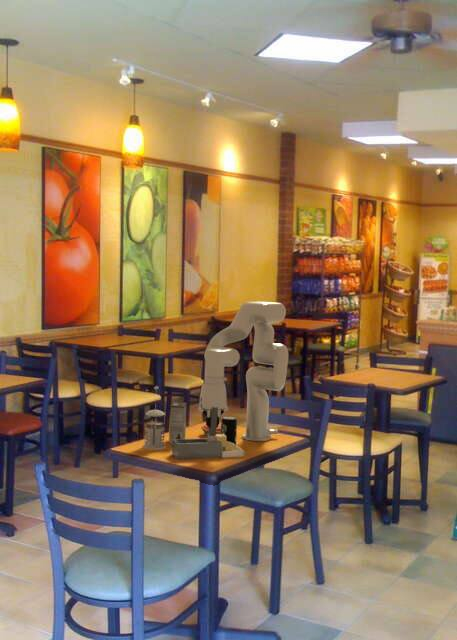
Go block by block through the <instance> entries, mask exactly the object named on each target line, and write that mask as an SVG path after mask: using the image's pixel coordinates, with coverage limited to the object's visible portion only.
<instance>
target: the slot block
mask: <svg viewBox="0 0 457 640" xmlns="http://www.w3.org/2000/svg"><path fill="white" fill-rule="evenodd" d="M171 456H173V457H174V458H175V459H176V460H196V459H216V458H217V459H218V458H222V442H207V438H206V437H204V438H203V437H202V438H201V437H199V438H185V439H172V445H171Z"/></svg>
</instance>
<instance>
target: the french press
mask: <svg viewBox="0 0 457 640" xmlns="http://www.w3.org/2000/svg"><path fill="white" fill-rule="evenodd" d="M153 390H155V393H157V392H158V391H157V390H159V386H157V385H156V386H154V388H153ZM154 406H155V408H154V409H151V410H148V411H146V412H145V416H146V417H154V420H153V418H152V419H151V421H147V422H146V426H145V431H144V432H145V434H144V436H145V437H144V444H143V445H142V449H146V450H151V451H152V450H157V451H159V450H164V449H166V448H167V445H165V434H166V433H165V428H166V427H165V426H163V425H164V424H165V423H164V422H161V421H158V419H157V418H158V417H164V416H165V415H166V413H165V412H164V411H162V410H159V409H157V405H154Z"/></svg>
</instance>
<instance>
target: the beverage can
mask: <svg viewBox="0 0 457 640" xmlns="http://www.w3.org/2000/svg"><path fill="white" fill-rule="evenodd" d="M220 423H221V434H224V435H226V436H227V440H226V441H228V442H232V443H234V444H235V445H237V433H238V432H237V429H238V420H237V417H236V416H229V415H225V416H222V419H221V421H220Z"/></svg>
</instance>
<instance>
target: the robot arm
mask: <svg viewBox="0 0 457 640" xmlns="http://www.w3.org/2000/svg"><path fill="white" fill-rule="evenodd" d="M286 314H287V310H286V307H285V305H284V304H283V303H281V302H272V301H246V302H244V303H242V304H241V306H240V307H239V308H238V310H237V313H236V314H235V316H234V318H233V319H232V322H231V323H230V325H229V326H227V327H226V328H224V329H222V330H220V331H219V332H217V333H216V334H214V336H213V337H211V339H210V341H209V342H208V344H207V346H206V348H205V351H204V383H202V384H201V388H200V394H199V405H198V408H197V411H198V412H200V413H201V414H203V415H204V416H205V425H207V427H209V428H210V427H211V417H210V410H211V409H212V407H214V408H216V407H218V411H217V425H216V427H218V425H219V423H220V418H221V416H223V414H224V413H225V412H228V411H229V407H228V405H227V401H228V400H227V399H228V398H227V387H226V384H225V382H227V381H228V377H225V367H230V368H231V367H236V366H237V365H238V363H239V361H240V358H241V357H240V356H241V355H240V353H239V351H238V350H237V349H236V348H232V347H225V346H227V345H229V344H232V343H235V342H240V341H242V340H244V339H247V338H248V337H249V335H250V332H251V330H252V329H253V327H254V337H253V338H254V339H253V346H252V360H253V362H255V363H257V364H261V365H271V366H273V367H267V366H266V367H265V366H252V367H249V368H248V370H246V374H245V382H246V388H247V389H246V390H247V395H246V398H247V399H246V421H245V422H246V423H245V425H246V426H245V433H243V434H241V435H242V436H241V438H242V439H244V440H246V441H251V442H266V441H270V440H271V439H272V436H271V435H278V434H279V430H278V429H272V428H269V413H270V412H269V411H270V410H269V409H270V408H269V407H270V405H269V404H270V398H269V395H268V392H267V390H268V391H275V392H276V391H277V392H279V391H282V390H283V389H284V387H285V384H286V380H287V373H288V364H289V350H288V347H287V346H286V345H285V344H283V343H277V342H276V343H275V342H274V339H275V329H274V327H273V325H272V324H278V323H281V322H283V321H284V319H285V318H286Z"/></svg>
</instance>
